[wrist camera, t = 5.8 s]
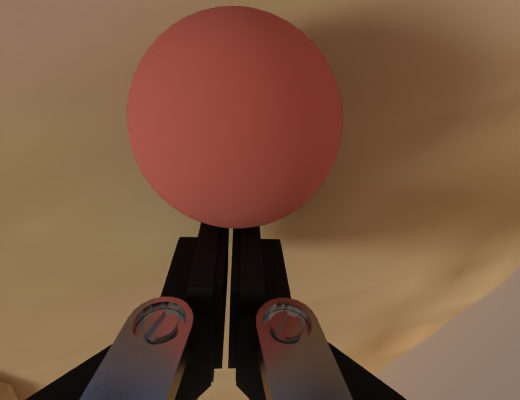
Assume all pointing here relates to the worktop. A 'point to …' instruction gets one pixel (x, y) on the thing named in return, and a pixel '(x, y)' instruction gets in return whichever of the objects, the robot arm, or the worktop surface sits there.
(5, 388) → the wooden food tray
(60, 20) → the worktop surface
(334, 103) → the ball
